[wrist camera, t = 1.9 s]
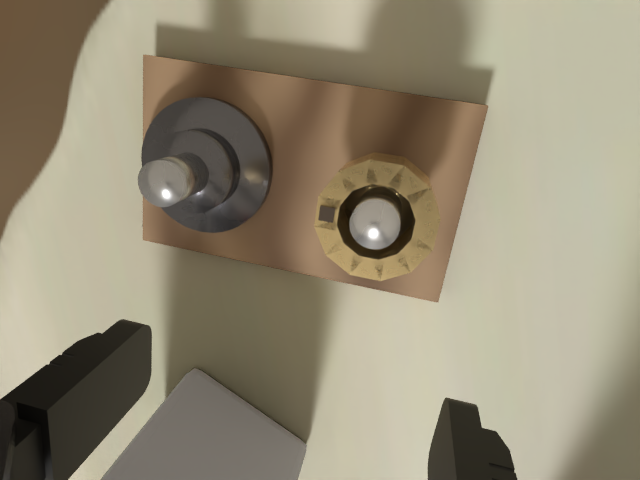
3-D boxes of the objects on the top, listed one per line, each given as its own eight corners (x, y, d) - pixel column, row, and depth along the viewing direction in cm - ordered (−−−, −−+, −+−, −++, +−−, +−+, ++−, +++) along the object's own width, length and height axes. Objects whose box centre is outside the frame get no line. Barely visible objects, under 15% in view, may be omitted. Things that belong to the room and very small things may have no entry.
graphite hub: (279, 108, 29) (243, 113, 23) (266, 239, 32) (230, 275, 26) (150, 87, 30) (82, 86, 24) (149, 215, 33) (89, 244, 27)
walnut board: (484, 104, 28) (488, 105, 26) (437, 293, 32) (438, 302, 31) (155, 56, 31) (143, 54, 29) (153, 233, 35) (142, 239, 34)
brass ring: (447, 164, 25) (451, 174, 22) (422, 269, 27) (423, 291, 24) (334, 145, 26) (324, 152, 23) (319, 248, 28) (307, 267, 25)
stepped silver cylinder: (432, 164, 28) (437, 185, 22) (414, 242, 30) (414, 281, 24) (349, 150, 29) (332, 167, 23) (337, 227, 30) (318, 261, 24)
